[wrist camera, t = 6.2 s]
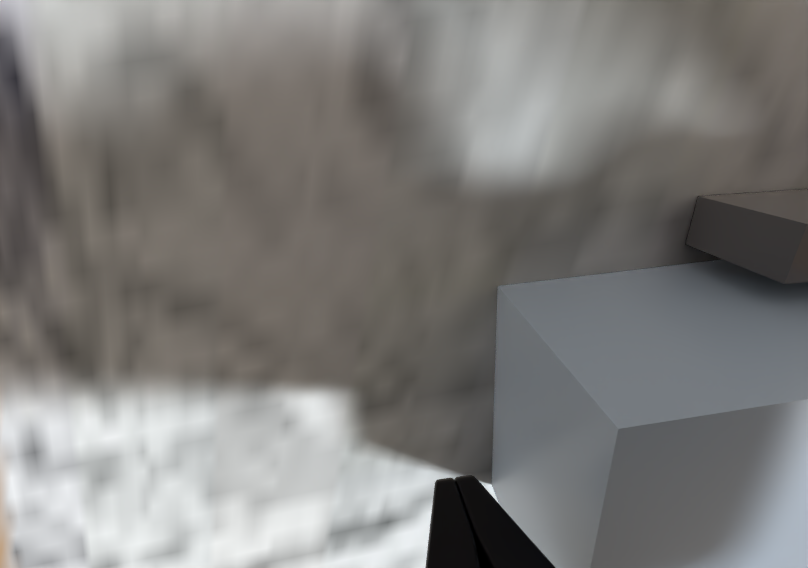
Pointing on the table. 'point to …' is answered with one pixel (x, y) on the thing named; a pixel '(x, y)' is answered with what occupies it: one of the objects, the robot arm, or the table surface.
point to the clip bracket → (756, 232)
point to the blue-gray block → (655, 417)
